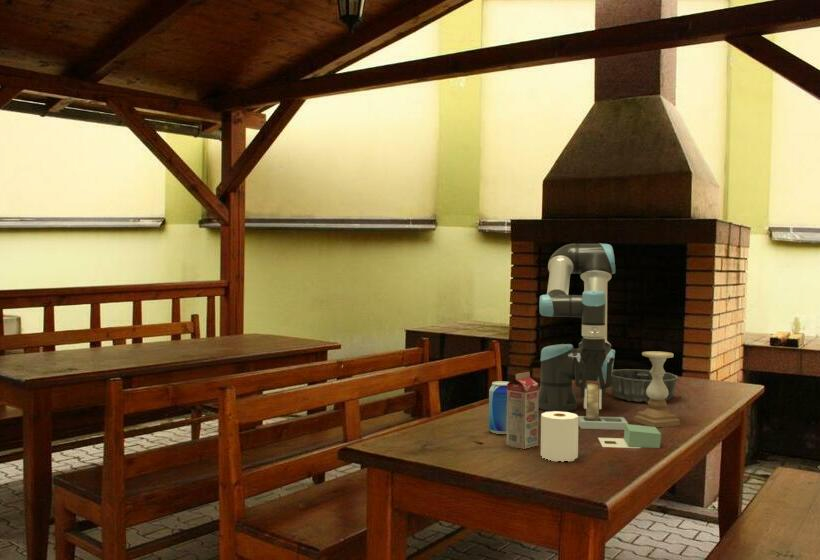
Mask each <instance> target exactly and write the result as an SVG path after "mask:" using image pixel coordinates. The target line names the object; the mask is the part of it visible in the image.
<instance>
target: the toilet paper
mask: <svg viewBox="0 0 820 560" xmlns="http://www.w3.org/2000/svg"><path fill="white" fill-rule="evenodd" d="M578 416H579V415H578V414H577V413H573V412H570V411H545V412H542V413H541V414H540V457H541V456H542V457H541V458H542V459H543V458H545V459H544V460H546V459H548V460H547V461H550V460H551V461H550V462H558V461H561V462H560V463H565V462H564V461H568V462H574V461H576V460H577V459H578V458H579V424H578ZM575 459H576V460H575Z"/></svg>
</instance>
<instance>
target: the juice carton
mask: <svg viewBox="0 0 820 560" xmlns="http://www.w3.org/2000/svg"><path fill="white" fill-rule="evenodd" d="M508 382H509V383H508V384H507V435H506V446H507V445H511V446H515V447H519V448H523V449H524V442H525V449H526V448H530V447H533V446H537V445H538V446H539V408H538V397H539V389H540V386H539V385H540V383H538V382H537V381H536V380H535V379H533V378H532V377H531V374H530V371H526V372H525V371H524V372H520V373H515V379H514V380H512V381H508ZM538 446H537V447H538ZM533 448H534V447H533ZM530 449H531V448H530Z"/></svg>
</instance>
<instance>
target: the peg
mask: <svg viewBox="0 0 820 560" xmlns="http://www.w3.org/2000/svg"><path fill="white" fill-rule="evenodd" d="M586 388H587V409H585V414H586V415H585V416H586V420H587V421H599V417H600V416H599V414H600V413H599V412H600V409H599V388H600V383H596V382H595V383H593V382H590V383H586Z"/></svg>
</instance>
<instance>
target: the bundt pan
mask: <svg viewBox="0 0 820 560" xmlns="http://www.w3.org/2000/svg"><path fill="white" fill-rule="evenodd" d="M650 370H651V369H627V368H626V369H624V368H623V369H613V371H612V377H611V387H610V390H611V393H612V394H613V395H614V396H615V397H617V398H619V399H621V400H626V401H628V402H632V401H633V402H637V403H642V402H644V403H646V404H648V401H649V400H650V398H649V397H648V396H647V394H646V389H647V387H648V386H649V384H650V383H651V381H652V375H651V373H650ZM677 380H679V377H678V375H676V374H674V373H670V372H666V373H665V374H664V376H663V382H664V384H665V386H666V387H667V389H668V392H669V394H668V396H667V397H666V398H665V399H664V400H665V401H666V402H667V401H668V400H670V399H672V397H673V395H674V394H675V389H676V384H677Z"/></svg>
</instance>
